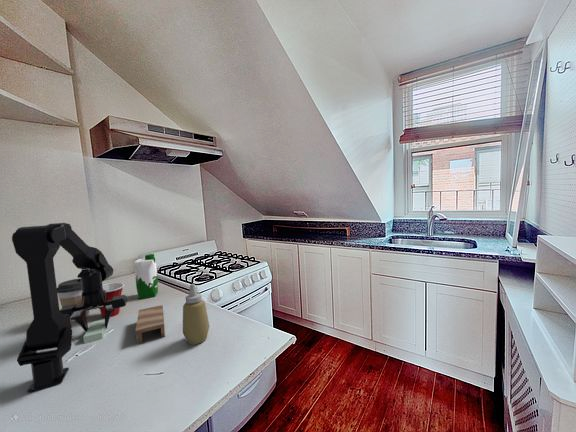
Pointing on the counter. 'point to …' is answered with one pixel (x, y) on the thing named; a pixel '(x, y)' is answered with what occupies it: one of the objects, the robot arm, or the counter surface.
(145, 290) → the milk carton
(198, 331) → the squeeze bottle
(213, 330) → the counter surface
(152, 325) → the bench
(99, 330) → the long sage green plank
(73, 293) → the coffee cup
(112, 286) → the plastic cup
